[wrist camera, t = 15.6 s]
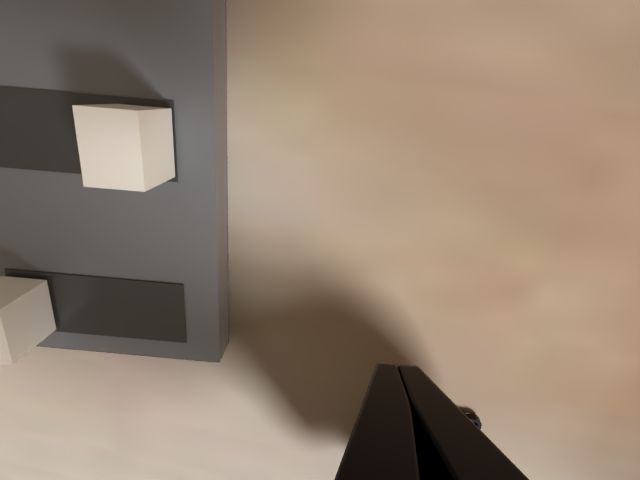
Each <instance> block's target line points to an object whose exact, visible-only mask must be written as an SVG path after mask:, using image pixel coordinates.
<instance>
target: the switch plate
mask: <svg viewBox="0 0 640 480" xmlns="http://www.w3.org/2000/svg"><path fill="white" fill-rule="evenodd" d="M93 104H126V105H138V106H150V107H162V108H171V110H172V128H173V145H174V163H175V177H174V178H172V179H170V180H168V181H166V182H164V183H162V184H160V185H158V186H156V187H154V188H152V189H150V190H148V191H146V192H140V191H128V190H117V189H105V188H93V187H84V185H83V178H82V171H81V164H80V157H79V150H78V143H77V136H76V129H75V122H74V115H73V108H72V105H93ZM0 276H7V277H19V278H30V279H41V280H47V284H48V289H49V294H50V299H51V304H52V310H53V315H54V320H55V325H56V330H55V331H54V332H52V333H51V334H50V335H49V336H48V337H46V338H45V339H44V340H43V341H42V342H40V343H39V344H38V345H37V346H40V347H51V348H62V349H73V350H84V351H96V352H107V353H118V354H129V355H140V356H151V357H162V358H174V359H185V360H196V361H207V362H218V363H219V362H220V360H221V358H222V356H223V353H224V351H225V349H226V346H227V344H228V342H229V317H228V195H227V73H226V0H0Z"/></svg>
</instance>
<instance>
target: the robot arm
mask: <svg viewBox="0 0 640 480" xmlns="http://www.w3.org/2000/svg"><path fill="white" fill-rule="evenodd" d="M473 422H474V423H473ZM480 429H481V422H480V419H479V417H478V416H476V415H473V414H464V413H463V412H462V411H461V410H460V409H459V408H458V407H457V406H456V405H455V404H454V403H453V402H452V401H451V400H450V399H449V398H448V397H447V396H446V395H445V394H444V393H443V392H442V391H441V390H440V389H439V388H438V387H437V385H436V384H435V383H434V382H433V381H432V380H431V379H430V378H429V377H428V376H427V375H426V374H425V373H424V372H423V371H422V370H421V369H420V368H419V367H417V366H415V365H404V364H399V365H398V366H397V365H396V364H393V363H382V362H379V363H377V364H376V367H375V370H374V372H373V375H372V378H371V381H370V383H369V386H368V389H367V392H366V394H365V397H364V400H363V403H362V405H361V408H360V411H359V414H358V416H357V419H356V422H355V425H354V427H353V430H352V433H351V436H350V438H349V441H348V444H347V447H346V449H345V452H344V455H343V458H342V460H341V463H340V466H339V469H338V471H337V474H336V477H335V480H529V479H528V478H527V477H526V476H525V475H524V474H523V473H522V472H521V471H520V470H519V469H518V468H517V467H516V466H515V465H514V464H513V463H512V462H511V461H510V460H509V459H508V458H507V457H506V456H505V455H504V454H503V453H502V452H501V451H500V450H499V449H498V448H497V446H496V445H495V444H494V443H493V442H492V441H491V440H490V439H489V438H488V437H487V436H486V435H485V434H484V433H483V432H482V431H481V430H480Z"/></svg>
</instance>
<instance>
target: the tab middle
mask: <svg viewBox="0 0 640 480" xmlns="http://www.w3.org/2000/svg"><path fill="white" fill-rule="evenodd" d="M72 108H73V115H74V122H75V129H76V136H77V143H78V150H79V157H80V164H81V171H82V178H83V185H84V187H93V188H105V189H117V190H128V191H140V192H146V191H148V190H150V189H152V188H154V187H156V186H158V185H160V184H162V183H164V182H166V181H168V180H170V179H172V178H174V177H175V163H174V145H173V128H172V110H171V108H162V107H150V106H138V105H126V104H93V105H72Z"/></svg>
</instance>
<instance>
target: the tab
mask: <svg viewBox="0 0 640 480" xmlns="http://www.w3.org/2000/svg"><path fill="white" fill-rule="evenodd" d="M55 330H56V325H55V320H54V315H53V310H52V304H51V299H50V294H49V289H48V284H47V280H41V279H30V278H19V277H7V276H0V364H5V365H14V364H15V363H16V362H17V361H19V360H20V359H21V358H22V357H23V356H25V355H26V354H27V353H28V352H29V351H31V350H32V349H33V348H34V347H35V346H37V345H38V344H39V343H40V342H42V341H43V340H44V339H45V338H46V337H48V336H49V335H50V334H51V333H52V332H54V331H55Z"/></svg>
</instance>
